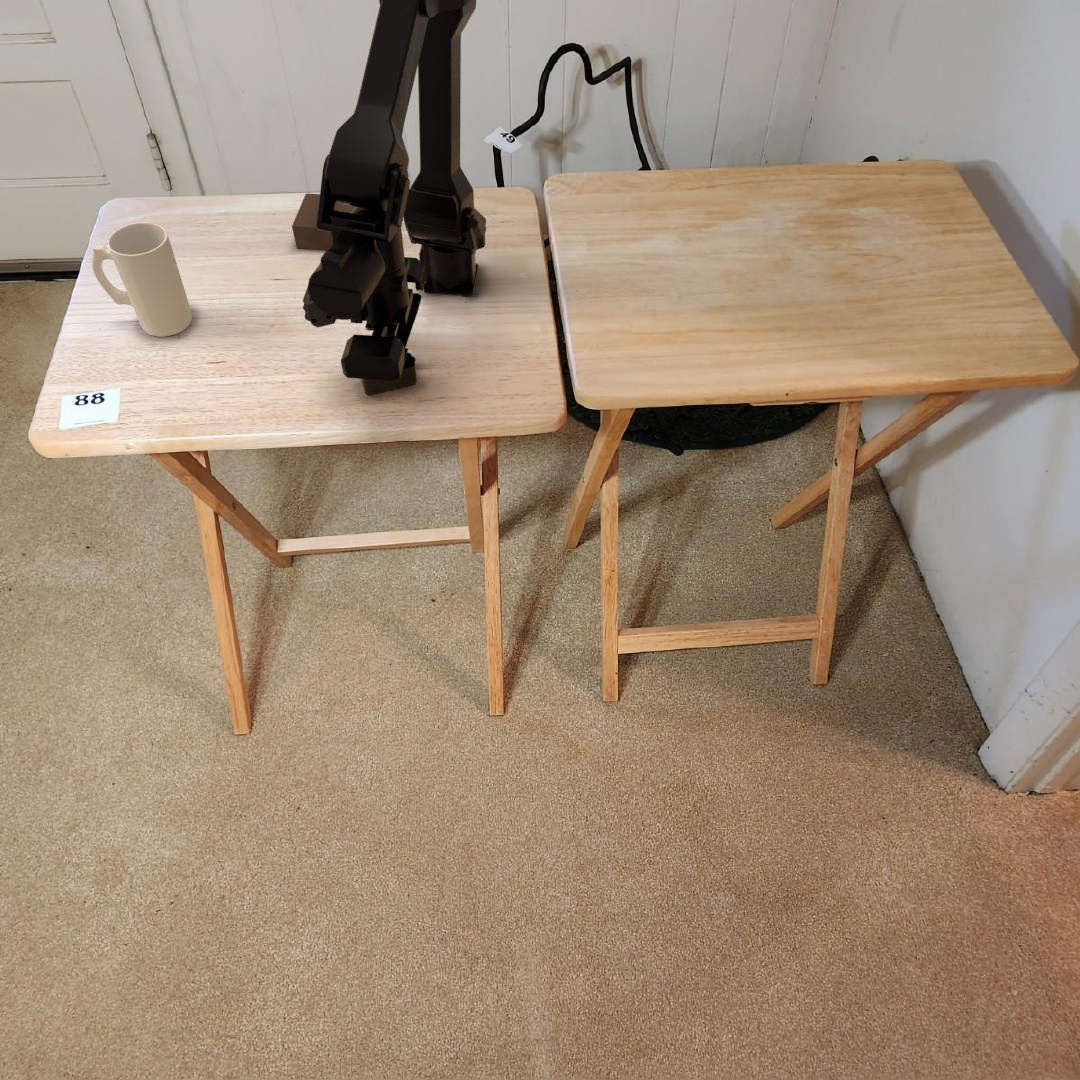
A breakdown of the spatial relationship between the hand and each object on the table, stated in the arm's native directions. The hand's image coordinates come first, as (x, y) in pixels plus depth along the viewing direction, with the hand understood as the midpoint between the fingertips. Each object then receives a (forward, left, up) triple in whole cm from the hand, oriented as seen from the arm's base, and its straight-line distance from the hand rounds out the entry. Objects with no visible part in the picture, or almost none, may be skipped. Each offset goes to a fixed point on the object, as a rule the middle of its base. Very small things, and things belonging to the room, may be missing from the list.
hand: (393, 373), depth 115 cm
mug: (+32, -8, -1) cm, 33 cm away
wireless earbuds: (0, 0, -1) cm, 1 cm away
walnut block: (+14, -29, -1) cm, 32 cm away
